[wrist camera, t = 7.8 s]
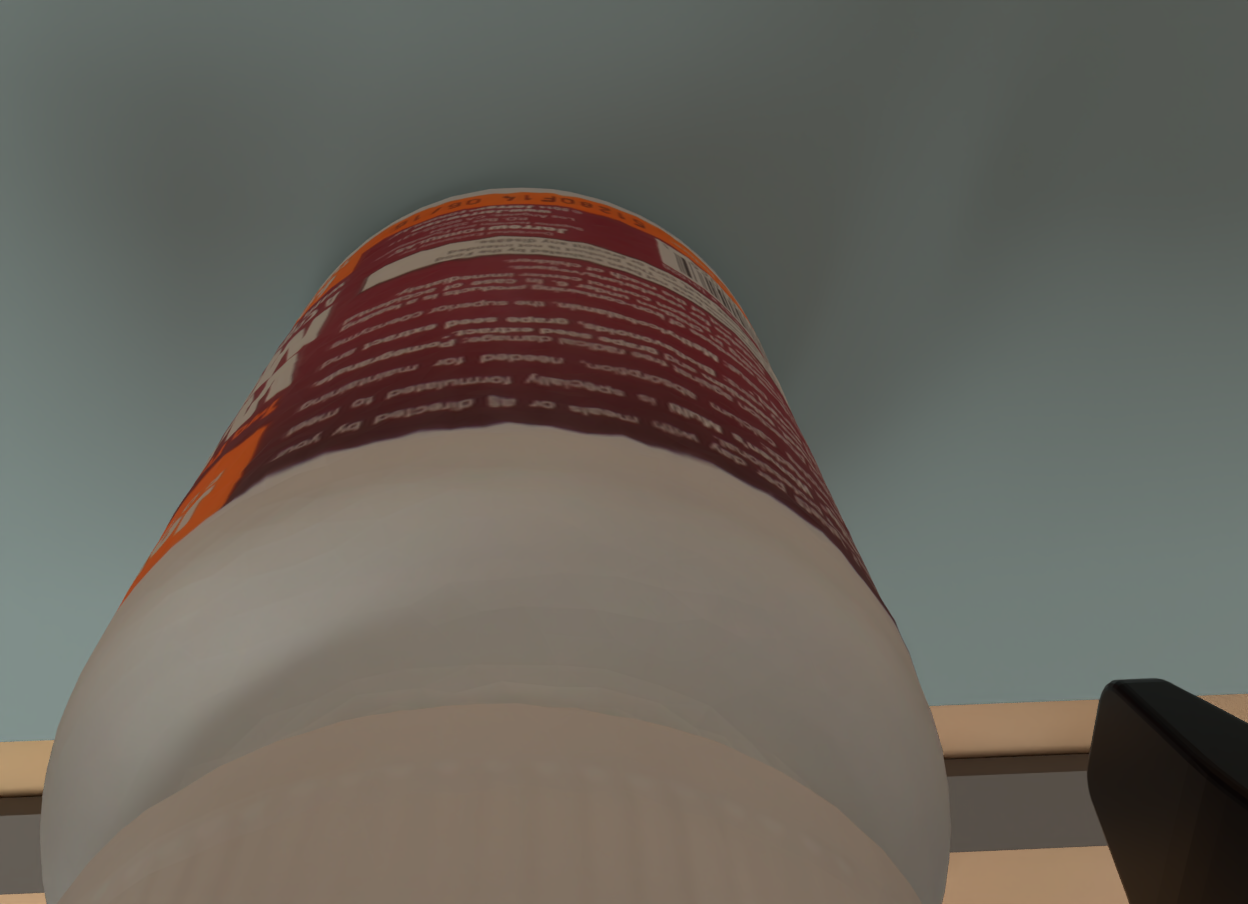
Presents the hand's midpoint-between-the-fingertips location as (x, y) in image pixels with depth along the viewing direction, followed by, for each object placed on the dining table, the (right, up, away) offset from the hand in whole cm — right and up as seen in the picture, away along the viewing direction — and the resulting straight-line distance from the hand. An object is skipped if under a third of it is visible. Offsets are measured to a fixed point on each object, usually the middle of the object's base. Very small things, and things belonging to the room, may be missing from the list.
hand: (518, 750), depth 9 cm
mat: (0, +3, +7) cm, 7 cm away
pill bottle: (0, +3, +7) cm, 7 cm away
